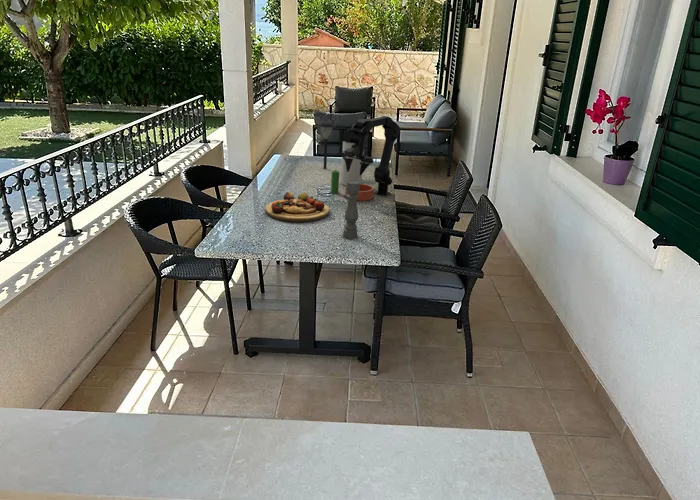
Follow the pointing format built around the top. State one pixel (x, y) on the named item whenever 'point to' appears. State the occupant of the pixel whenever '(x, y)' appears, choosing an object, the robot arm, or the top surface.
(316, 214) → the wooden plate
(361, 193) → the pot
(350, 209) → the candle holder
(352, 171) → the cylinder vase
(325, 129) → the solar garden light
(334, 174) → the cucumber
